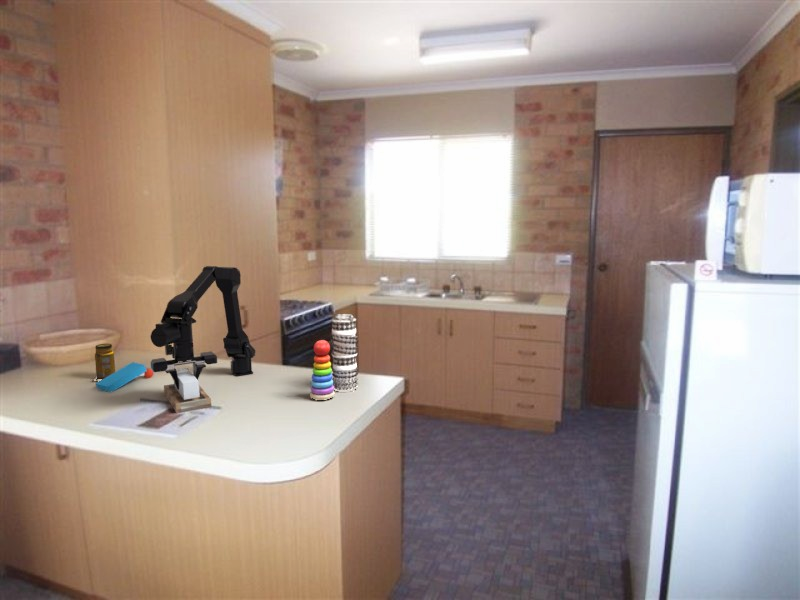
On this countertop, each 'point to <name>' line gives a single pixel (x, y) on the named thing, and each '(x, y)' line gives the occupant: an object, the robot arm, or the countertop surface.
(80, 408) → the countertop surface
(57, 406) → the countertop surface
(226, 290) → the robot arm
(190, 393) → the white tall block
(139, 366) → the lever
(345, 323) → the decorative candle
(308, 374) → the countertop surface
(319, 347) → the stacking toy
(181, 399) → the wooden tray
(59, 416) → the countertop surface
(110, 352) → the condiment
